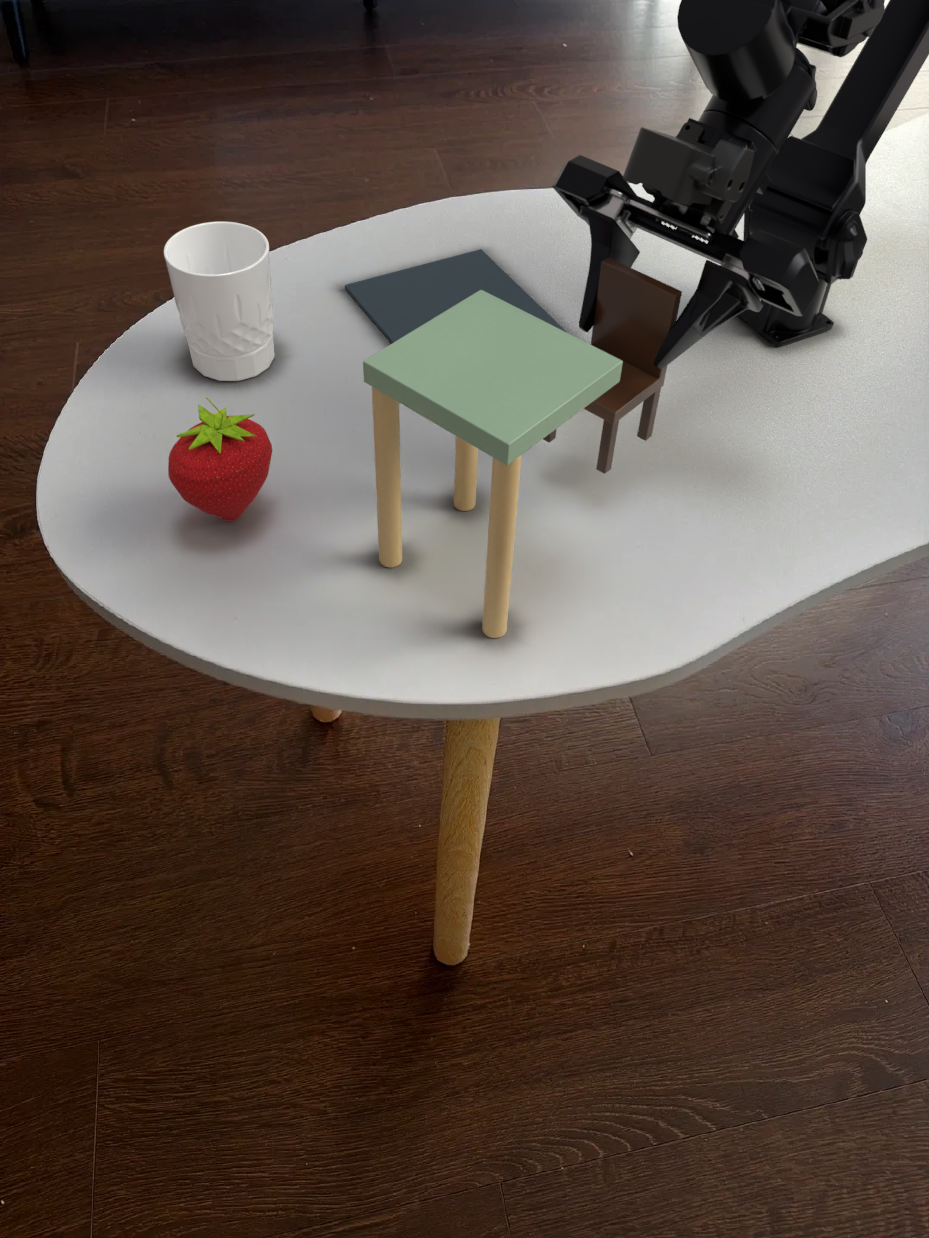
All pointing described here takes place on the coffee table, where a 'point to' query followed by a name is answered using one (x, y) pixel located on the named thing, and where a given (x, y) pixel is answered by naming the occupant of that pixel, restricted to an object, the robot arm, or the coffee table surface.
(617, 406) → the chair
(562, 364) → the side table
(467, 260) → the mat
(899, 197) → the coffee table surface
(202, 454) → the strawberry
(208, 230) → the white cup
